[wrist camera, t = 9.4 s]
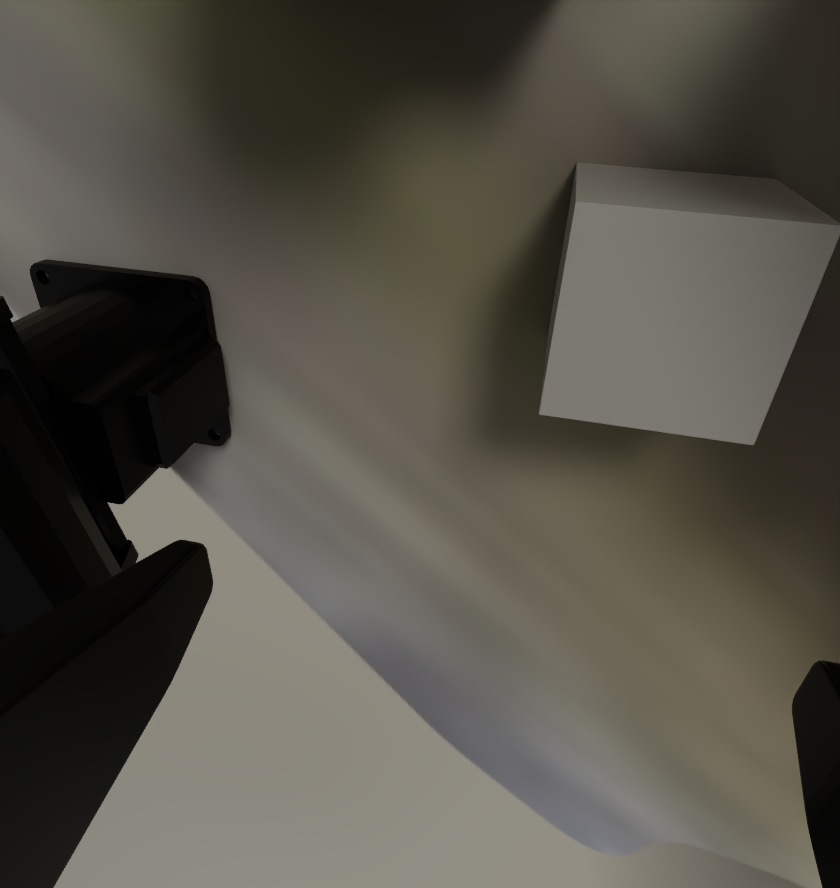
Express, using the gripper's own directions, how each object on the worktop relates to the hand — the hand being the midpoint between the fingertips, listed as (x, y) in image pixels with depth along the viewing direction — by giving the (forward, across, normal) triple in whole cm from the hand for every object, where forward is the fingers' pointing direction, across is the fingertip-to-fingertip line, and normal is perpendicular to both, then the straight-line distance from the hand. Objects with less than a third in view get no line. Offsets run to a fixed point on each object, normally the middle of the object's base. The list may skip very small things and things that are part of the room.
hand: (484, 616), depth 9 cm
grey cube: (+12, -3, -2) cm, 13 cm away
